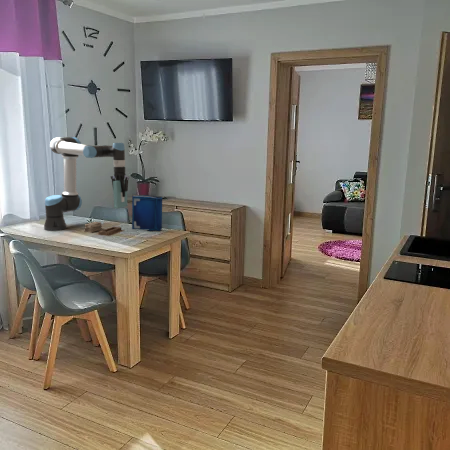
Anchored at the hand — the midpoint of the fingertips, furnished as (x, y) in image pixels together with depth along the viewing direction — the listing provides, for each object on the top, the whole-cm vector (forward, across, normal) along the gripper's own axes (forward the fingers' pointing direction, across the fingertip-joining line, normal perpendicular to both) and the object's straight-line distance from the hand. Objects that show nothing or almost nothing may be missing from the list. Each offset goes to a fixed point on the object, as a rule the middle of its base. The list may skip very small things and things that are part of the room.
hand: (120, 201), depth 298 cm
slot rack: (+23, -10, 0) cm, 25 cm away
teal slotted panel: (+4, 0, 0) cm, 4 cm away
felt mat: (+23, +3, 0) cm, 24 cm away
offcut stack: (+23, -24, 0) cm, 33 cm away
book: (+24, +7, +22) cm, 33 cm away
